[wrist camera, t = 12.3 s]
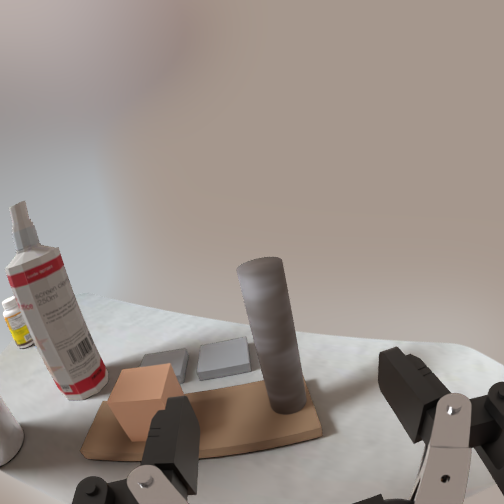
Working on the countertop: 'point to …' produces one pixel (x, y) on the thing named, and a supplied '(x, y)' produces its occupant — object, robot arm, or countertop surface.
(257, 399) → the pull strip
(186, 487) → the robot arm
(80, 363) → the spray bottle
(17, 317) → the supplement bottle
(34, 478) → the countertop surface
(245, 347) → the broken strip
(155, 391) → the terracotta block
